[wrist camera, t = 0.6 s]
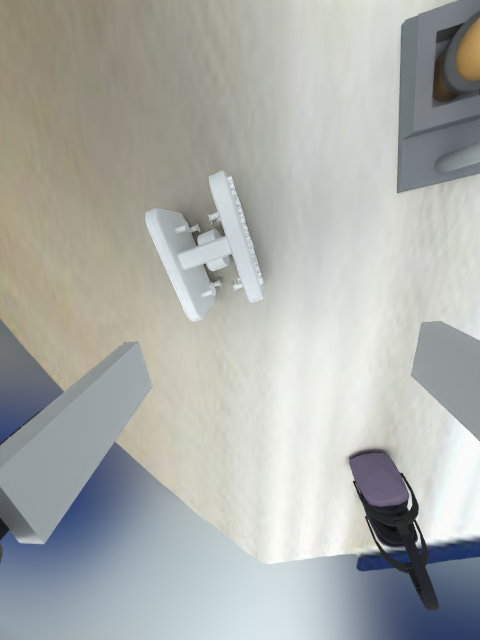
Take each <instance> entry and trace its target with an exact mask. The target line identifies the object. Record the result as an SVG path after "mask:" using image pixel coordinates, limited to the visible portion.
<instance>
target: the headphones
mask: <svg viewBox="0 0 480 640" xmlns="http://www.w3.org/2000/svg"><path fill="white" fill-rule="evenodd" d="M349 463H350V467H351V470H352V473H353V476H354V479H355V481H353V483H354V485H355V488H356V490H357V493H358V495H359V497H360V500H361V502H362V503H363V506H364V509H365V512H366V516H365V518H366V521H367V523H368V526H369V529H370V531H371V534H372V536H373V539H374V541H375V543H376V545H377V546H378V548H379V550H380V552H381V554H382V556H383V557H384V558H385V559H386V560H387V561H388V562H389V563H390V564H391V565H392V566H393V567H395V568H396V569H398V570H399V571H402V572H405V573H409V575H410V577H411V579H412V582H413V584H414V586H415V588H416V591H417V593H418V595H419V596H420V599H421V600H422V602H423V604H424V606H425V607H426V609H428V610H438V609H439V605H438V601H437V597H436V594H435V591H434V589H433V586H432V584H431V581H430V578H429V576H428V573H427V570H426V568H425V566H426V564H427V561H428V551H427V547H426V543H425V540H424V538H423V535H422V533H421V530H420V528H419V526H418V524H417V522H416V520H415V518H416V517H417V515H418V509H419V505H418V503H417V500H416V498H415V495H414V493H413V490H412V488H411V487H410V485H409V483H408V482H407V480H406V478H405V477H404V475H403V473H400V472H399V471H398V469H397V467H396V465H395V464H394V462H393V461H392V460H391V458H390V457H389V456H388V455H386V454H384V453H377V452H374V453H366V454H362V455H359V456H356V457H354V458H352V459H351V460H350V462H349ZM401 475H402V476H401ZM402 477H403V479H404V481H405V483H406V484H407V486H408V488H409V490H410V492H411V495H412V507H411V509H410V511H409V510H408V508H407V505H408V499H409V494H408V491H407V488H406V486H405V483H404V481H403V479H402ZM356 484H357V486H358V487H359V489H360V493H359V490H358V488H357V486H356ZM367 518H368V519H369V522H370V524H371V526H372V528H373V530H374V532H375V534H376V536H377V538H378V540H379V541H380V542H381V543H382V544H383V545H385V546H387V547H390V548H406V551H407V553H408V556H409V558H410V561H411V563H401V562H399V561H396V560H394V559H392V558H391V557H390V556H388V555H387V554H386V553H385V551H384V550H383V548H382V547H381V546H380V544H379V543H378V542H377V540H376V539H375V536H374V534H373V531H372V529H371V527H370V524H369V522H368V519H367ZM413 522H415V525H416V527H417V529H418V531H419V533H420V538H421V544H422V554H421V556H420V554H419V551H418V549H417V547H416V545H415V543H416V542H417V540H418V537H417V533H416V530H415V527H414V524H413ZM407 568H408V569H407Z"/></svg>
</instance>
